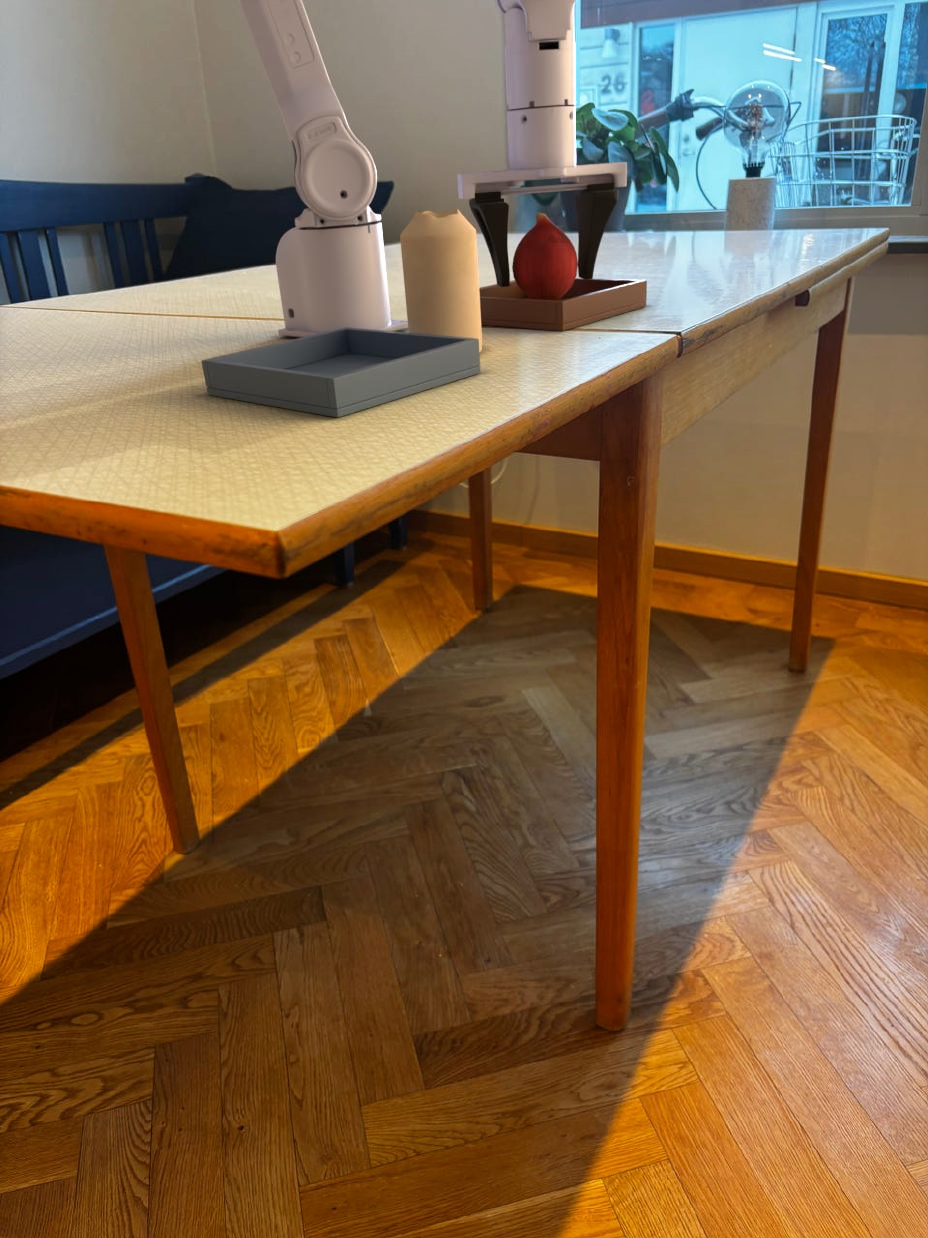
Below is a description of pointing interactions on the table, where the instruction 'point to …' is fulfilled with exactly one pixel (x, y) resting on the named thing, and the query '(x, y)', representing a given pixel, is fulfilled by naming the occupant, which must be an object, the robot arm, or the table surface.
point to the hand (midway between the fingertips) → (544, 281)
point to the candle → (441, 275)
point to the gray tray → (341, 369)
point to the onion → (545, 261)
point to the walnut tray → (561, 304)
